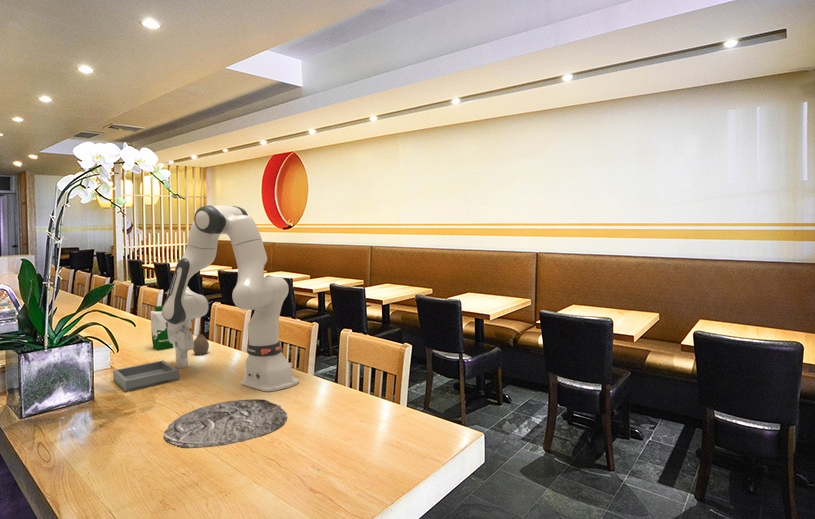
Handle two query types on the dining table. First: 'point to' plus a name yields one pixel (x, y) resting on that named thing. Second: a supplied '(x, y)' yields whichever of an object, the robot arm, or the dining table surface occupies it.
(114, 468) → the dining table surface
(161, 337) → the milk carton
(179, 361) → the shaker
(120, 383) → the tray
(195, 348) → the vase
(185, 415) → the worn metal disc
